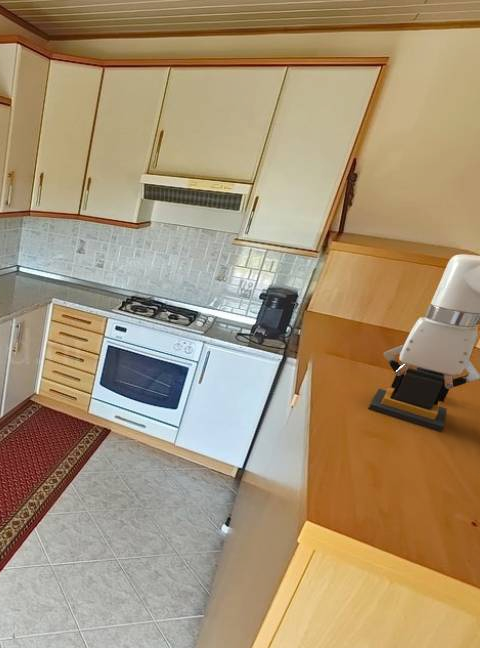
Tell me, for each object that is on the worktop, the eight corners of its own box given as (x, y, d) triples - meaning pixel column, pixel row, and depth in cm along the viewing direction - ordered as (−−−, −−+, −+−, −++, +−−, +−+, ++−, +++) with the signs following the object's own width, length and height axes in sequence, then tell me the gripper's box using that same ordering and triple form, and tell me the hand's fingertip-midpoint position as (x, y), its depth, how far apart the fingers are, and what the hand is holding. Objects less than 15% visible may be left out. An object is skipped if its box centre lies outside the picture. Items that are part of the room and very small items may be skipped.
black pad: (431, 408, 101) (443, 383, 99) (394, 397, 104) (405, 374, 103) (433, 400, 105) (444, 376, 103) (397, 390, 109) (408, 367, 107)
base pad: (441, 432, 97) (447, 420, 96) (368, 408, 105) (373, 397, 104) (444, 413, 107) (449, 402, 106) (376, 393, 115) (381, 382, 114)
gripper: (510, 325, 95) (469, 408, 102) (398, 304, 107) (367, 379, 113) (512, 332, 90) (469, 418, 97) (395, 308, 101) (363, 387, 108)
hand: (415, 396), depth 105 cm, fingers closed on black pad, 6 cm apart
